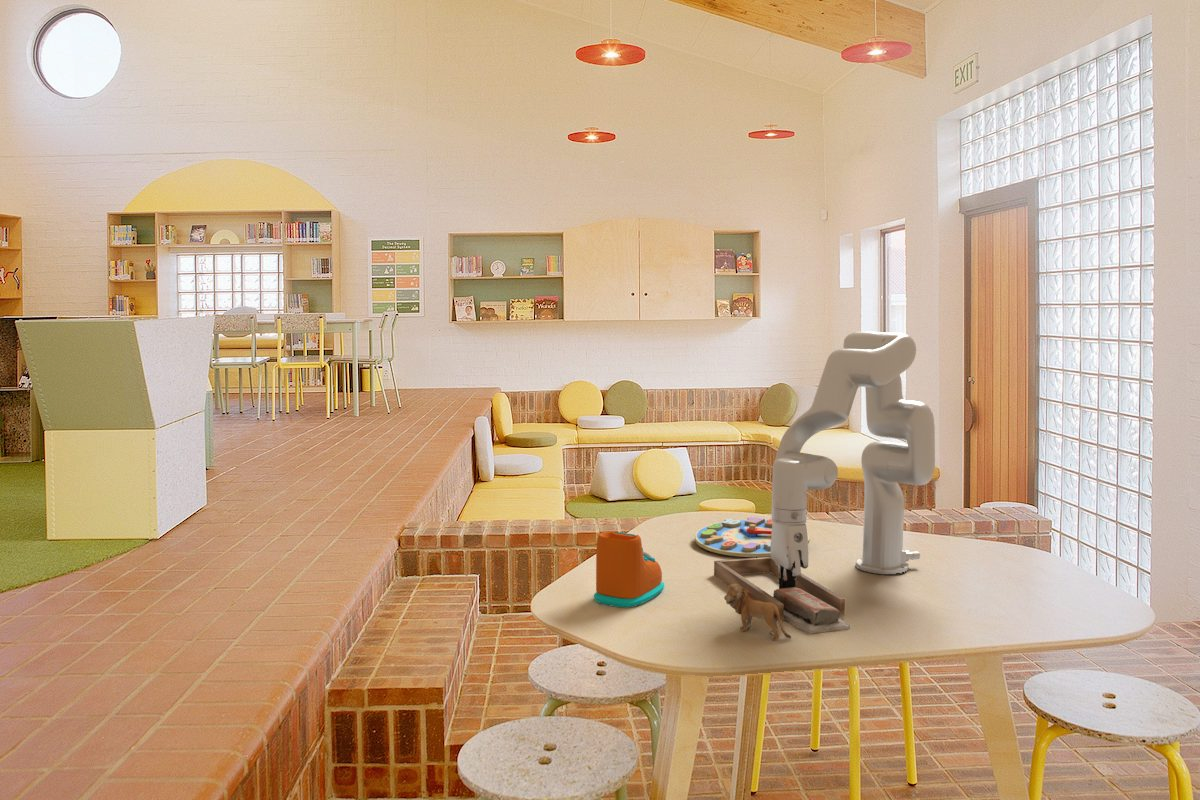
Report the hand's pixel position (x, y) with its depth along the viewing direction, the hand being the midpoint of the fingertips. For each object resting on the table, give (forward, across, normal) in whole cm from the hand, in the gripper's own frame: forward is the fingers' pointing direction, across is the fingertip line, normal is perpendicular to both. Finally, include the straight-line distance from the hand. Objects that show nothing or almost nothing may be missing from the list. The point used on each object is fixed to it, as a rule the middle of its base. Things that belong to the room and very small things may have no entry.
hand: (786, 596), depth 219 cm
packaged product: (+2, -11, +1) cm, 11 cm away
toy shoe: (+2, +13, +32) cm, 35 cm away
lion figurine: (+2, -16, +15) cm, 22 cm away
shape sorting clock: (+2, +48, -12) cm, 49 cm away
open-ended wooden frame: (+1, +6, 0) cm, 6 cm away
